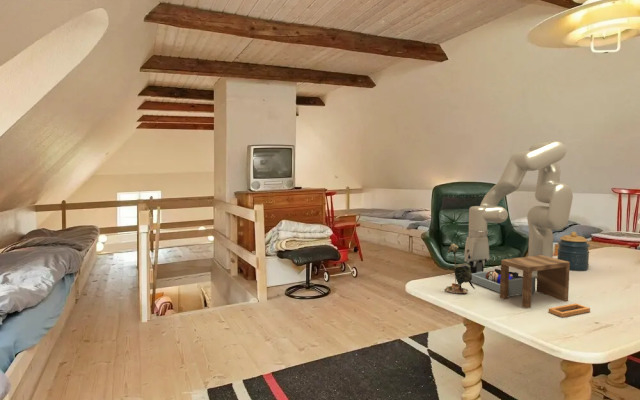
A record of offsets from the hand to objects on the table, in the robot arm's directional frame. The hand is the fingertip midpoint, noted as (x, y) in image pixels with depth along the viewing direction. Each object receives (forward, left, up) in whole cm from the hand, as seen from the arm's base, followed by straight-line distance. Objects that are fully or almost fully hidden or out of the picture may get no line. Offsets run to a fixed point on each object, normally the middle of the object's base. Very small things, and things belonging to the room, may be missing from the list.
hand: (476, 274), depth 170 cm
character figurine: (0, +16, -2) cm, 16 cm away
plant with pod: (+20, +13, -2) cm, 24 cm away
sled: (0, +11, -1) cm, 11 cm away
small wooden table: (0, +30, -2) cm, 30 cm away
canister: (-55, +4, -2) cm, 55 cm away
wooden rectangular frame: (0, +44, -2) cm, 44 cm away
